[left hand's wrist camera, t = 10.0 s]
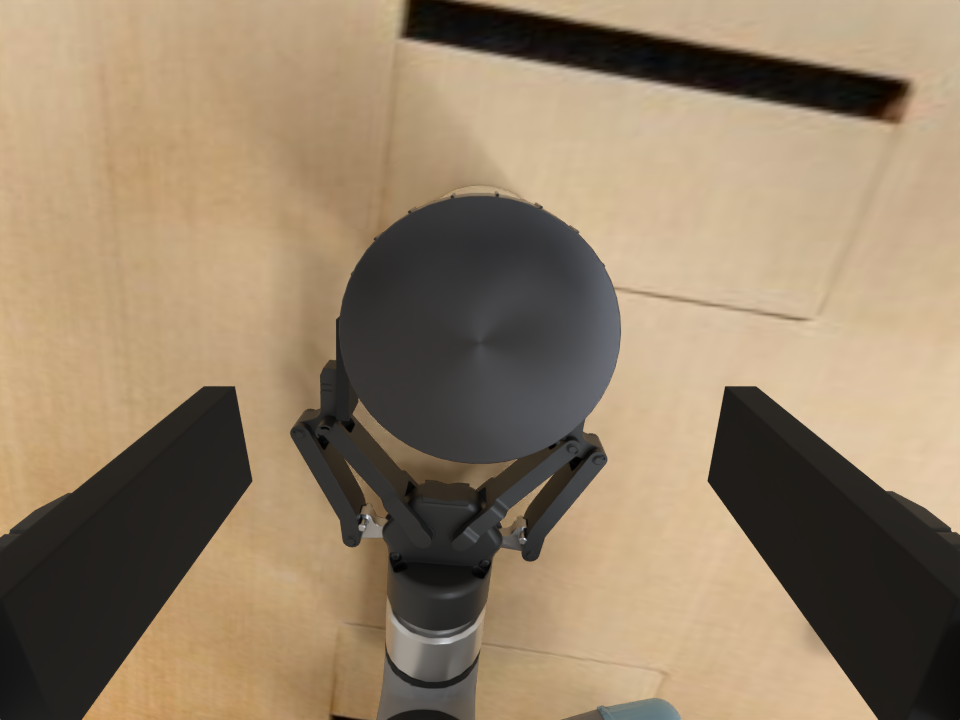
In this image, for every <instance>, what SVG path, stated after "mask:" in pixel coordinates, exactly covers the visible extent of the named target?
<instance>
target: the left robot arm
mask: <svg viewBox="0 0 960 720" xmlns="http://www.w3.org/2000/svg"><path fill="white" fill-rule="evenodd" d="M251 482H252V476H251V471H250V465H249V460H248V455H247V449H246V444H245V438H244V433H243V428H242V422H241V417H240V412H239V406H238V401H237V395H236V390H235V386H204V387H203V388H201V389H200V390H199V391H198V392H196V393H195V394H194V395H193V396H191V397H190V398H189V399H188V400H186V401H185V402H184V403H183V404H181V405H180V406H179V407H178V408H177V409H175V410H174V411H173V412H172V413H170V414H169V415H168V416H167V417H165V418H164V419H163V420H162V421H160V422H159V423H158V424H157V425H156V426H154V427H153V428H152V429H151V430H149V431H148V432H147V433H146V434H144V435H143V436H142V437H141V438H139V439H138V440H137V441H136V442H134V443H133V444H132V445H131V446H130V447H128V448H127V449H126V450H125V451H123V452H122V453H121V454H120V455H118V456H117V457H116V458H115V459H113V460H112V461H111V462H110V463H108V464H107V465H106V466H105V467H104V468H102V469H101V470H100V471H99V472H97V473H96V474H95V475H94V476H92V477H91V478H90V479H89V480H87V481H86V482H85V483H84V484H82V485H81V486H80V487H79V488H78V489H76V490H75V491H74V492H73V493H67V494H65V495H64V496H62V497H60V498H58V499H56V500H54V501H52V502H50V503H48V504H46V505H44V506H42V507H41V508H39V509H37V510H35V511H34V512H32V513H31V514H30V515H29V516H27V517H26V518H25V519H24V520H22V521H21V522H20V523H18V524H17V525H16V526H15V527H13V528H12V529H11V530H10V533H9V534H4V535H3V536H2V537H0V720H82V718H83V717H84V716H85V714H86V713H87V711H88V710H89V709H90V707H91V706H92V704H93V703H94V702H95V700H96V699H97V698H98V696H99V695H100V693H101V692H102V691H103V689H104V688H105V686H106V685H107V684H108V682H109V681H110V679H111V678H112V677H113V675H114V674H115V672H116V671H117V670H118V668H119V667H120V665H121V664H122V663H123V661H124V660H125V658H126V657H127V656H128V654H129V653H130V651H131V650H132V649H133V647H134V646H135V644H136V643H137V642H138V640H139V639H140V637H141V636H142V635H143V633H144V632H145V630H146V629H147V628H148V626H149V625H150V623H151V622H152V621H153V619H154V618H155V617H156V615H157V614H158V612H159V611H160V610H161V608H162V607H163V605H164V604H165V603H166V601H167V600H168V598H169V597H170V596H171V594H172V593H173V591H174V590H175V589H176V587H177V586H178V584H179V583H180V582H181V580H182V579H183V577H184V576H185V575H186V573H187V572H188V570H189V569H190V568H191V566H192V565H193V563H194V562H195V561H196V559H197V558H198V556H199V555H200V554H201V552H202V551H203V549H204V548H205V547H206V545H207V544H208V542H209V541H210V540H211V538H212V537H213V535H214V534H215V533H216V531H217V530H218V529H219V527H220V526H221V524H222V523H223V522H224V520H225V519H226V517H227V516H228V515H229V513H230V512H231V510H232V509H233V508H234V506H235V505H236V503H237V502H238V501H239V499H240V498H241V496H242V495H243V494H244V492H245V491H246V489H247V488H248V487H249V485H250V484H251ZM708 482H709V484H710V485H711V487H712V488H713V489H714V491H715V492H716V494H717V495H718V496H719V498H720V499H721V501H722V502H723V503H724V505H725V506H726V508H727V509H728V510H729V512H730V513H731V515H732V516H733V517H734V519H735V520H736V522H737V523H738V524H739V526H740V527H741V529H742V530H743V531H744V533H745V534H746V535H747V537H748V538H749V540H750V541H751V542H752V544H753V545H754V547H755V548H756V549H757V551H758V552H759V554H760V555H761V556H762V558H763V559H764V561H765V562H766V563H767V565H768V566H769V568H770V569H771V570H772V572H773V573H774V575H775V576H776V577H777V579H778V580H779V582H780V583H781V584H782V586H783V587H784V589H785V590H786V591H787V593H788V594H789V596H790V597H791V598H792V600H793V601H794V603H795V604H796V605H797V607H798V608H799V610H800V611H801V612H802V614H803V615H804V617H805V618H806V619H807V621H808V622H809V623H810V625H811V626H812V628H813V629H814V630H815V632H816V633H817V635H818V636H819V637H820V639H821V640H822V642H823V643H824V644H825V646H826V647H827V649H828V650H829V651H830V653H831V654H832V656H833V657H834V658H835V660H836V661H837V663H838V664H839V665H840V667H841V668H842V670H843V671H844V672H845V674H846V675H847V677H848V678H849V679H850V681H851V682H852V684H853V685H854V686H855V688H856V689H857V691H858V692H859V693H860V695H861V696H862V698H863V699H864V700H865V702H866V703H867V704H868V706H869V707H870V709H871V710H872V711H873V713H874V714H875V716H876V717H877V718H878V720H960V535H959V534H958V533H956V532H952V531H951V528H950V527H949V526H947V525H946V524H945V523H944V522H942V521H941V520H940V519H938V518H937V517H936V516H935V515H933V514H932V513H931V512H929V511H928V510H927V509H925V508H924V507H922V506H920V505H918V504H916V503H914V502H912V501H910V500H908V499H906V498H904V497H903V496H901V495H899V494H897V493H895V492H893V491H885V490H884V489H882V488H881V487H880V486H879V485H878V484H876V483H875V482H874V481H873V480H871V479H870V478H869V477H868V476H866V475H865V474H864V473H863V472H861V471H860V470H859V469H858V468H856V467H855V466H854V465H853V464H852V463H850V462H849V461H848V460H847V459H845V458H844V457H843V456H842V455H840V454H839V453H838V452H837V451H835V450H834V449H833V448H832V447H830V446H829V445H828V444H827V443H826V442H824V441H823V440H822V439H821V438H819V437H818V436H817V435H816V434H814V433H813V432H812V431H811V430H809V429H808V428H807V427H806V426H804V425H803V424H802V423H801V422H800V421H798V420H797V419H796V418H795V417H793V416H792V415H791V414H790V413H788V412H787V411H786V410H785V409H783V408H782V407H781V406H780V405H779V404H777V403H776V402H775V401H774V400H772V399H771V398H770V397H769V396H767V395H766V394H765V393H764V392H762V391H761V390H760V389H759V388H757V387H756V386H725V390H724V395H723V401H722V406H721V412H720V417H719V422H718V428H717V433H716V438H715V444H714V449H713V455H712V460H711V465H710V471H709V476H708Z"/></svg>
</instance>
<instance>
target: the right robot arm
mask: <svg viewBox="0 0 960 720" xmlns="http://www.w3.org/2000/svg"><path fill="white" fill-rule="evenodd" d="M339 322H340V316H339V317H338V318H337V319H336V360H329V361H328V363H327V364H326V365H325V367H324V368H323V370H322V373H321V375H320V383H321V385H320V389H321V391H320V392H321V409H318V410H314V409H307V410H305V411H304V412H303V414H302V415H301V417H300V418H299V419H298V421H297V422H296V424H295V425H294V427H293V428H292V430H291V432H290V435H291V437H292V439H293V441H294V443H295V444H296V446H297V448H298V449H299V451H300V453H301V455H302V456H303V458H304V460H305V461H306V463H307V465H308V467H309V468H310V470H311V472H312V473H313V475H314V477H315V478H316V480H317V482H318V484H319V485H320V487H321V489H322V490H323V492H324V494H325V496H326V497H327V499H328V501H329V502H330V504H331V506H332V508H333V509H334V511H335V513H336V514H337V516H338V518H339V520H340V524H341V531H342V538H343V542H344V544H345V545H346V546H348V547H356V546H358V545H359V543H360V541H361V538H383V539H384V541H385V542H386V544H387V546H388V549H389V559H388V582H387V595H388V597H387V602H386V638H385V650H386V651H385V663H384V675H383V685H382V692H381V698H380V704H379V709H378V714H377V720H475V693H476V681H477V670H478V659H479V654H480V647H481V644H482V637H483V629H484V621H485V613H486V602H487V597H488V591H489V583H490V576H491V568H492V561H493V557H494V555H495V553H496V552H497V551H498V550H499V549H500V547H501V548H507V549H513V550H519V551H522V557H523V559H525V560H526V561H535V560H536V559H537V558H538V557H539V554H540V551H541V548H542V545H543V542H544V539H545V536H546V535H547V534H548V533H549V532H550V530H551V529H552V528H553V527H554V526H555V524H556V523H557V522H558V521H559V520H560V518H561V517H562V516H563V515H564V514H565V512H566V511H567V510H568V509H569V508H570V506H571V505H572V504H573V503H574V501H575V500H576V499H577V498H578V497H579V495H580V494H581V493H582V492H583V491H584V489H585V488H586V487H587V486H588V485H589V483H590V482H591V481H592V480H593V479H594V477H595V476H596V475H597V474H598V473H599V471H600V470H601V469H602V468H603V466H604V465H605V464H606V462H607V456H606V454H605V451H604V449H603V447H602V444H601V442H600V440H599V438H598V436H597V435H596V434H593V433H590V434H587V433H584V432H583V427H584V422H585V419H584V420H583V421H582V423H581V424H580V425H579V426H577V427H576V428H575V429H574V430H573V431H571V432H570V433H569V434H568V435H567V436H565V437H564V438H562V439H561V440H559V441H557V442H556V443H554V444H553V445H551V446H549V447H547V448H545V449H543V450H541V451H539V452H537V453H534V454H531V455H528V456H525V457H523V458H519V459H518V460H517V461H515V462H514V463H513V464H512V465H511V466H509V467H508V468H507V469H506V470H504V471H503V472H502V473H501V474H500V475H498V476H497V477H496V478H490V479H488V480H487V481H486V482H485V483H484V484H482V485H481V486H480V487H479V488H478V489H476V490H475V489H473V488H471V487H469V484H467V483H454V484H444V483H441V482H438V481H431V480H426V481H425V483H424V484H420V485H418V484H417V483H416V482H415V481H414V480H413V478H412V477H411V476H410V475H409V474H408V473H407V472H406V471H405V470H400V468H399V467H398V466H397V465H396V464H395V463H394V462H393V460H392V459H391V458H390V457H389V456H388V455H387V454H386V452H385V451H384V450H383V449H382V448H381V447H380V446H379V444H378V443H377V442H376V441H375V440H374V439H373V438H372V436H371V435H370V434H369V433H368V432H367V431H366V429H365V428H364V427H363V426H362V425H361V424H360V423H359V421H358V420H357V419H356V418H355V417H354V416H353V415H352V413H353V411H354V410H355V408H356V406H357V404H358V396H357V394H356V392H355V390H354V388H353V387H352V385H351V382H350V380H349V377H348V375H347V372H346V370H345V366H344V362H343V358H342V354H341V348H340V338H339ZM344 458H345V459H346V461H347V462H348V463H349V464H350V465H351V466H352V467H353V468H354V469H355V470H356V472H357V473H358V474H359V475H360V476H361V477H362V478H363V479H364V480H365V481H366V483H367V484H368V485H369V486H370V487H371V488H372V489H373V490H374V491H375V493H376V494H377V495H378V496H379V497H380V498H381V499H382V502H383V506H384V508H385V509H386V511H387V512H388V515H387V516H386V518H381V517H379V516H377V515H376V513H375V511H374V509H373V506H372V504H370V503H367V504H366V503H365V498H364V495H363V492H362V490H361V488H360V486H359V485H358V483H357V481H356V479H355V477H354V476H353V474H352V472H351V470H350V468H349V467H348V465H347V463H346V461H345V459H344ZM553 474H554V475H553ZM552 475H553V476H552ZM550 476H552V477H551V478H550V480H549V481H548V482H547V483H546V485H545V486H544V487H543V489H542V490H541V491H540V492H539V494H538V495H537V496H536V497H535V499H534V500H533V501H532V502H531V504H530V505H529V507H528V508H527V510H526V512H525V515H524V517H523V516H518V517H517V518H516V521H514V523H513V524H512V526H510V527H508V528H502V526H501V524H500V521H501V520H502V519H503V518H504V517H505V516H506V514H507V511H508V510H509V509H510V508H511V507H512V506H514V505H515V504H516V503H517V502H519V501H520V500H521V499H522V498H524V497H525V496H526V495H528V494H529V493H530V492H531V491H533V490H534V489H535V488H536V487H538V486H539V485H540V484H541V483H543V482H544V481H545V480H546V479H548V478H549V477H550ZM562 720H681V717H680V715H679V713H678V712H677V710H676V709H675V708H674V707H673V706H672V705H671V704H670V703H669V702H667V701H665V700H662V699H657V698H652V699H646V700H641V701H636V702H630V703H625V704H620V705H614V706H609V707H605V706H599V707H597V709H596V710H593V711H590V712H586V713H583V714H579V715H576V716H573V717H569V718H566V719H562Z"/></svg>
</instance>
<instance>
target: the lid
mask: <svg viewBox="0 0 960 720" xmlns="http://www.w3.org/2000/svg"><path fill="white" fill-rule="evenodd" d="M408 213H409V214H407V215H406V216H404V217H403V218H401V219H400V220H398V221H397V222H395V223H394V224H393V225H392V226H390V227H389V228H388V229H387V230H386V231H385V232H382V233H381V234H379V235H378V236H377V237H375V238H374V240H375V241H374V242H373V243H372V245H371V246H370V247H369V248H368V249H367V250H366V252H365V253H364V255H363V256H362V258H361V259H360V261H359V262H358V264H357V265H356V267H355V269H354V271H353V272H352V273H351V277H350V279H349V282H348V284H347V287H346V291H345V294H344V297H343V300H342V306H341V312H340V322H339V338H340V348H341V354H342V358H343V362H344V366H345V370H346V372H347V375H348V377H349V380H350V382H351V385H352V387H353V388H354V390H355V392H356V394H357V396H358V397H359V399H360V401H361V402H362V403H363V405H364V406H365V408H366V409H367V410H368V412H369V413H370V414H371V415H372V416H373V417H374V418H375V419H376V420H377V421H378V423H379V424H380V425H381V426H383V427H384V428H385V429H386V430H387V431H389V432H390V433H391V434H392V435H393V436H395V437H396V438H398V439H399V440H401V441H403V442H404V443H406V444H407V445H409V446H411V447H413V448H415V449H417V450H419V451H421V452H423V453H426V454H429V455H432V456H435V457H438V458H441V459H445V460H450V461H454V462H462V463H471V464H489V463H498V462H506V461H510V460H515V459H519V458H523V457H525V456H528V455H531V454H534V453H537V452H539V451H541V450H543V449H545V448H547V447H549V446H551V445H553V444H554V443H556V442H557V441H559V440H561V439H562V438H564V437H565V436H567V435H568V434H569V433H570V432H571V431H573V430H574V429H575V428H576V427H577V426H579V425H580V424H581V423H582V421H583V420H584V419H585V418H586V417H587V416H588V415H589V414H590V413H591V412H592V410H593V409H594V408H595V406H596V405H597V403H598V402H599V401H600V399H601V398H602V396H603V394H604V392H605V390H606V388H607V386H608V385H609V382H610V380H611V377H612V375H613V372H614V369H615V366H616V362H617V358H618V354H619V348H620V338H621V323H620V312H619V306H618V301H617V297H616V294H615V291H614V288H613V285H612V282H611V279H610V277H609V275H608V273H607V271H606V269H605V265H604V264H603V263H602V262H601V261H600V259H599V258H598V256H597V255H596V253H595V252H594V250H593V249H592V248H591V247H590V246H589V245H588V243H587V242H586V241H585V240H584V239H583V238H582V237H581V236H580V235H579V234H578V233H579V231H578V230H576V229H575V228H573V227H572V226H571V225H570V226H568V225H567V224H566V223H565V222H563V221H562V220H560V219H559V218H557V217H556V216H554V215H553V214H551V213H549V212H548V211H546V210H545V209H543V207H542V206H541V205H540V204H538V203H535V204H532V203H530V202H528V201H525V200H522V199H519V198H515V197H512V196H508V195H502V194H499V193H498V191H495V194H494V193H465V194H458V195H456V193H452V195H451V196H448V197H445V198H441V199H438V200H434V201H432V202H430V203H428V204H425V205H423V206H421V207H419V208H416V207H414V208H413V209H411V210H410V211H408Z"/></svg>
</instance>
